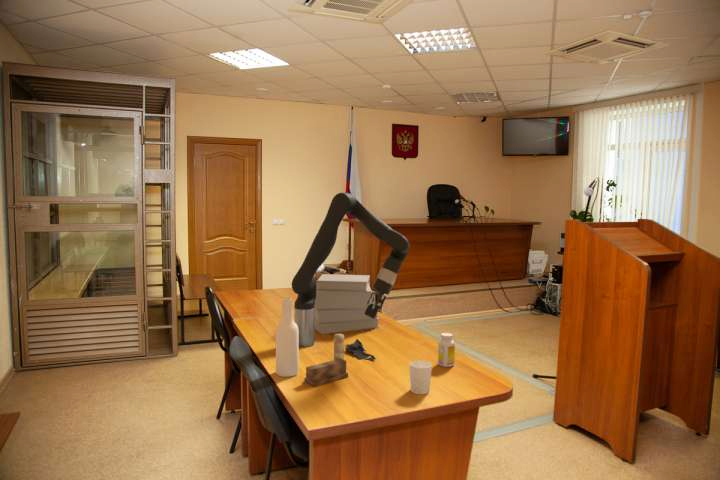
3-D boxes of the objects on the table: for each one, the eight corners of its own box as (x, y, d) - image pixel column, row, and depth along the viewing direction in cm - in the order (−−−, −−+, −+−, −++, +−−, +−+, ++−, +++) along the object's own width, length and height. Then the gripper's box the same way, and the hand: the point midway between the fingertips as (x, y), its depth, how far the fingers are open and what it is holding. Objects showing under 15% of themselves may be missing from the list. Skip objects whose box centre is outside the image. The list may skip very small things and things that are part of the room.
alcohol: (273, 371, 197) (272, 296, 194) (294, 368, 200) (294, 295, 197) (279, 379, 189) (278, 301, 186) (301, 375, 192) (301, 299, 189)
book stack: (302, 322, 270) (302, 275, 267) (361, 315, 285) (361, 271, 282) (321, 337, 243) (321, 285, 240) (385, 329, 257) (386, 280, 255)
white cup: (407, 386, 183) (407, 360, 182) (428, 386, 183) (429, 360, 182) (411, 395, 175) (411, 368, 174) (433, 395, 176) (434, 367, 175)
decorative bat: (338, 334, 234) (358, 334, 237) (337, 342, 234) (357, 343, 237) (355, 354, 206) (378, 354, 209) (354, 364, 206) (377, 364, 209)
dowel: (331, 368, 200) (332, 334, 199) (339, 366, 203) (340, 333, 201) (337, 371, 197) (337, 337, 196) (345, 369, 200) (346, 335, 198)
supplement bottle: (455, 363, 209) (456, 333, 207) (452, 368, 202) (453, 337, 201) (439, 361, 211) (440, 331, 209) (436, 366, 204) (437, 335, 203)
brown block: (312, 386, 182) (312, 370, 181) (304, 381, 187) (304, 366, 186) (348, 377, 192) (348, 361, 191) (339, 372, 196) (339, 357, 196)
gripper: (373, 276, 214) (357, 311, 212) (381, 278, 201) (365, 314, 199) (388, 283, 216) (372, 318, 214) (397, 285, 202) (381, 322, 200)
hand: (369, 316), depth 206 cm, fingers open, 8 cm apart
